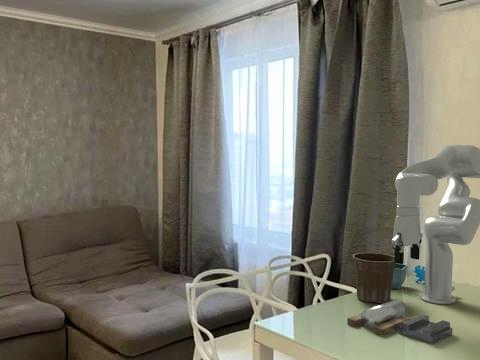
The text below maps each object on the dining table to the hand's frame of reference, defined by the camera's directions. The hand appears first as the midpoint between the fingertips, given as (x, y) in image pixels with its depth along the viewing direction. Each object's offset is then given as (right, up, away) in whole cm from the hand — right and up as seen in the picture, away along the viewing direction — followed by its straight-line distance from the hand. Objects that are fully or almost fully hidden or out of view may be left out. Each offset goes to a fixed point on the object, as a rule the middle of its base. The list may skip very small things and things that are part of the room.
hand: (407, 261), depth 171 cm
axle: (-10, -19, -8) cm, 23 cm away
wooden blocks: (-12, -19, -9) cm, 24 cm away
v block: (0, -20, -17) cm, 26 cm away
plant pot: (-7, -17, +18) cm, 26 cm away
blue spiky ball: (+20, -16, +39) cm, 47 cm away
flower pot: (+6, -16, +34) cm, 38 cm away
